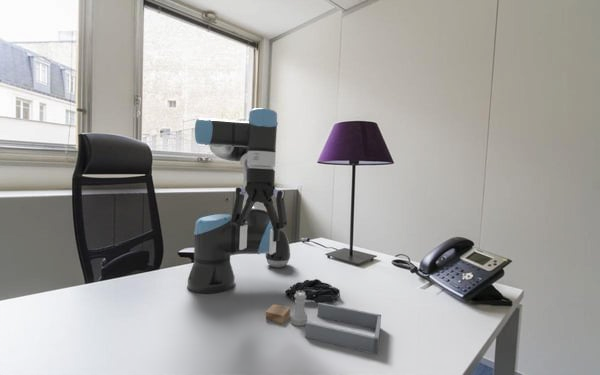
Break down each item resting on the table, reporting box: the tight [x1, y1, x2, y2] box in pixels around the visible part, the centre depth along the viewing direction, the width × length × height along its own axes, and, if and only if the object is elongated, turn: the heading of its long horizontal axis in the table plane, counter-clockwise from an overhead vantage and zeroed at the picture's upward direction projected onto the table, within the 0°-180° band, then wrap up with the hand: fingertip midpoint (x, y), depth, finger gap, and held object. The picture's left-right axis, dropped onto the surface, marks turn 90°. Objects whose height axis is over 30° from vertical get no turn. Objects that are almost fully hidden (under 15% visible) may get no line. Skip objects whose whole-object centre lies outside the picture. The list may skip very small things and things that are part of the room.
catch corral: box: [304, 303, 382, 355], centre depth 73 cm, size 17×12×4 cm
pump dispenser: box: [265, 228, 291, 268], centre depth 121 cm, size 10×10×15 cm
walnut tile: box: [265, 303, 291, 325], centre depth 79 cm, size 5×5×2 cm
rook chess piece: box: [290, 291, 308, 327], centre depth 77 cm, size 4×4×8 cm
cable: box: [284, 278, 341, 304], centre depth 95 cm, size 17×14×4 cm
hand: (257, 250), depth 80 cm, fingers open, 8 cm apart
